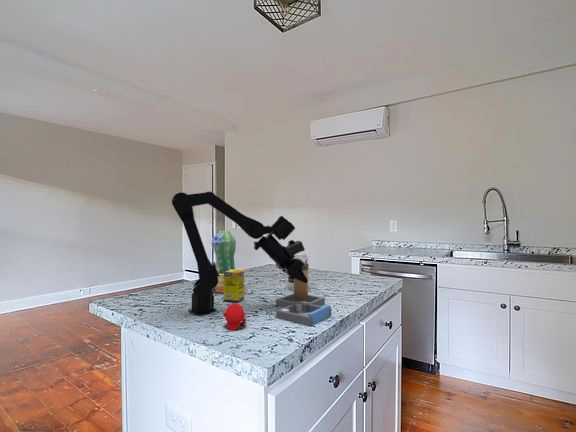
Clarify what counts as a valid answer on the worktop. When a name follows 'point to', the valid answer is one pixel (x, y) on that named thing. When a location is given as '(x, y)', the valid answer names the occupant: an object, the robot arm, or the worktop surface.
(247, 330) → the worktop surface
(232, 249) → the potted cactus
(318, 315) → the divided tray
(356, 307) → the worktop surface
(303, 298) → the vitamin jar
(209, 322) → the worktop surface
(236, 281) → the supplement box
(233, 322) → the red lumpy figurine
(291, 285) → the supplement can
